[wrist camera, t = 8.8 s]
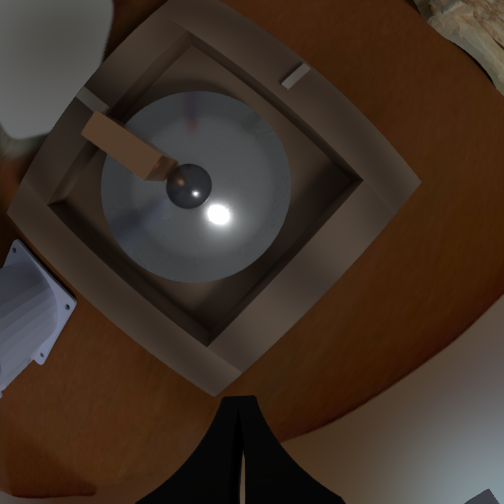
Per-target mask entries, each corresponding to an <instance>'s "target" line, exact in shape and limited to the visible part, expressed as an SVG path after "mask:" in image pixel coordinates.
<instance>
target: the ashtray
mask: <svg viewBox="0 0 504 504" xmlns="http://www.w3.org/2000/svg"><path fill="white" fill-rule="evenodd" d="M414 2H415V4H416V6H417V8H418V10H419V12H420V14H421V16H422V18H423V19H424V20H425V21H426V22H427V23H428V24H429V25H430V26H431V27H433V28H434V29H435V30H437V31H438V32H439V33H440V34H441V35H442V36H443V37H445V38H446V39H448V40H450V41H452V42H454V43H455V44H457V45H458V46H460V47H461V48H463V49H464V50H465V51H467V52H468V53H469V54H470V55H471V56H472V57H474V58H475V59H476V60H477V61H478V62H479V63H480V64H481V66H482V67H483V68H484V69H485V70H486V71H487V73H488V74H489V76H490V77H491V78H492V80H493V82H494V85H495V87H496V89H497V90H498V91H499V92H501V93H502V94H503V95H504V0H414Z"/></svg>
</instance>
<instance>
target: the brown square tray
mask: <svg viewBox="0 0 504 504" xmlns="http://www.w3.org/2000/svg"><path fill="white" fill-rule="evenodd" d="M190 91H206V92H214V93H219V94H222V95H226V96H229V97H232V98H234V99H236V100H239V101H241V102H243V103H244V104H246V105H248V106H249V107H251V108H252V109H253V110H255V111H256V112H257V113H258V114H260V115H261V116H262V117H263V118H264V119H265V120H266V121H267V122H268V123H269V125H270V126H271V127H272V129H273V130H274V131H275V133H276V134H277V136H278V138H279V140H280V141H281V143H282V145H283V147H284V150H285V153H286V156H287V159H288V163H289V168H290V175H291V195H290V202H289V207H288V211H287V214H286V217H285V220H284V223H283V225H282V227H281V229H280V231H279V233H278V235H277V236H276V238H275V239H274V241H273V242H272V244H271V245H270V246H269V247H268V248H267V250H266V251H265V252H264V253H263V254H262V255H261V256H260V257H259V258H258V259H256V260H255V261H254V262H253V263H252V264H250V265H249V266H247V267H246V268H244V269H243V270H241V271H239V272H237V273H235V274H233V275H231V276H228V277H225V278H222V279H219V280H214V281H209V282H200V283H189V282H179V281H174V280H170V279H166V278H163V277H160V276H158V275H156V274H154V273H152V272H150V271H148V270H146V269H145V268H143V267H142V266H140V265H139V264H137V263H136V262H135V261H134V260H133V259H131V258H130V257H129V256H128V255H127V254H126V252H125V251H124V250H123V249H122V248H121V247H120V245H119V244H118V242H117V241H116V239H115V238H114V236H113V234H112V232H111V230H110V228H109V226H108V223H107V221H106V218H105V215H104V210H103V206H102V198H101V179H102V172H103V167H104V163H105V160H106V156H107V153H106V152H105V151H103V150H102V149H100V148H99V147H98V146H96V145H95V144H94V143H92V142H91V141H90V140H88V139H87V138H85V137H84V136H83V135H81V132H82V130H83V129H84V127H85V126H86V124H87V123H88V121H89V119H90V118H91V116H92V115H93V113H94V112H95V110H98V111H100V112H102V113H104V114H106V115H108V116H110V117H112V118H114V119H116V120H118V121H120V122H122V123H123V124H124V125H125V124H126V123H127V122H128V121H129V120H130V119H131V118H132V117H133V116H134V115H135V114H137V113H138V112H139V111H140V110H142V109H143V108H144V107H146V106H148V105H149V104H151V103H153V102H155V101H157V100H159V99H162V98H164V97H166V96H170V95H173V94H177V93H183V92H190ZM420 183H421V181H420V180H419V178H418V177H417V176H416V175H415V173H414V172H413V171H412V169H411V168H410V167H409V166H408V164H407V163H406V162H405V161H404V160H403V158H402V157H401V156H400V155H399V154H398V152H397V151H396V150H395V149H394V148H393V147H392V145H391V144H390V143H389V142H388V141H387V140H386V139H385V137H384V136H383V135H382V134H381V133H380V132H379V131H378V130H377V129H376V127H375V126H374V125H373V124H372V123H371V122H370V121H369V120H368V119H367V118H366V117H365V116H364V115H363V114H362V113H361V112H360V111H359V110H358V109H357V108H356V107H355V106H354V105H353V104H352V103H351V102H350V101H349V100H348V99H347V98H346V97H345V96H344V95H343V94H342V93H341V92H340V91H339V90H338V89H337V88H336V87H334V86H333V85H332V84H331V83H330V82H329V81H328V80H327V79H326V78H325V77H323V76H322V75H321V74H320V73H319V72H318V71H316V70H315V69H314V68H313V67H312V66H311V65H309V64H308V63H307V62H306V61H305V60H303V59H302V58H301V57H300V56H298V55H297V54H296V53H295V52H293V51H292V50H291V49H290V48H288V47H287V46H286V45H284V44H283V43H282V42H280V41H279V40H278V39H276V38H275V37H274V36H272V35H271V34H270V33H268V32H267V31H265V30H264V29H263V28H261V27H260V26H258V25H257V24H255V23H254V22H252V21H251V20H249V19H248V18H246V17H245V16H243V15H242V14H240V13H239V12H237V11H235V10H234V9H232V8H231V7H229V6H227V5H226V4H224V3H222V2H221V1H219V0H168V1H167V2H166V3H165V4H163V5H162V6H161V7H160V8H159V9H157V10H156V11H155V12H154V13H153V14H152V15H151V16H149V17H148V18H147V19H146V20H145V21H144V22H143V23H142V24H141V25H140V26H138V27H137V28H136V29H135V30H134V31H133V32H132V33H131V34H130V35H129V36H128V37H127V38H126V39H125V40H124V41H123V42H122V43H121V44H120V45H119V46H118V47H117V48H116V49H115V50H114V51H113V52H112V54H111V55H110V56H109V57H108V58H107V59H106V60H105V61H104V62H103V63H102V65H101V66H100V67H99V68H98V69H97V70H96V72H95V73H94V74H93V75H92V76H91V77H90V79H89V80H88V81H87V82H86V84H85V85H84V86H83V87H82V88H81V89H80V91H79V92H78V93H77V95H76V96H75V98H74V99H73V100H72V102H71V103H70V104H69V106H68V107H67V108H66V110H65V111H64V113H63V114H62V115H61V117H60V118H59V120H58V121H57V123H56V124H55V126H54V127H53V129H52V130H51V132H50V133H49V135H48V136H47V138H46V140H45V141H44V143H43V144H42V146H41V148H40V149H39V151H38V153H37V154H36V156H35V158H34V160H33V161H32V163H31V165H30V167H29V169H28V170H27V172H26V174H25V176H24V178H23V180H22V182H21V184H20V186H19V188H18V190H17V192H16V194H15V196H14V198H13V200H12V202H11V204H10V206H9V209H8V211H7V214H8V215H9V217H10V218H11V219H12V220H13V222H14V223H15V224H16V225H17V226H18V228H19V229H20V230H21V231H22V232H23V233H24V235H25V236H26V237H27V238H28V239H29V240H30V242H31V243H32V244H33V245H34V246H35V247H36V248H37V249H38V251H39V252H40V253H41V254H42V255H43V256H44V257H45V258H46V259H47V260H48V261H49V262H50V263H51V264H52V266H53V267H54V268H55V269H56V270H57V271H58V272H59V273H60V274H61V275H62V276H63V277H64V278H65V279H66V280H67V281H68V282H69V283H70V284H71V285H72V286H73V287H74V288H75V289H76V290H78V291H79V292H80V293H81V294H82V295H83V296H84V297H85V298H86V299H87V300H88V301H89V302H90V303H91V304H93V305H94V306H95V307H96V308H97V309H98V310H99V311H100V312H101V313H103V314H104V315H105V316H106V317H107V318H108V319H109V320H111V321H112V322H113V323H114V324H115V325H116V326H118V327H119V328H120V329H121V330H122V331H124V332H125V333H126V334H127V335H129V336H130V337H131V338H132V339H133V340H135V341H136V342H137V343H138V344H140V345H141V346H142V347H144V348H145V349H146V350H147V351H149V352H150V353H151V354H153V355H154V356H155V357H157V358H158V359H159V360H161V361H162V362H163V363H165V364H166V365H167V366H169V367H170V368H172V369H173V370H174V371H176V372H177V373H179V374H180V375H182V376H183V377H184V378H186V379H187V380H189V381H190V382H192V383H193V384H195V385H196V386H198V387H199V388H201V389H202V390H204V391H205V392H207V393H208V394H210V395H212V396H213V397H215V396H216V395H218V394H219V393H220V392H221V391H222V390H223V389H225V388H226V387H227V386H228V385H229V384H230V383H232V382H233V381H234V380H235V379H236V378H237V377H238V376H239V375H241V374H242V373H243V372H244V371H245V370H246V369H247V368H248V367H250V366H251V365H252V364H253V363H254V362H255V361H256V360H257V359H258V358H259V357H260V356H262V355H263V354H264V353H265V352H266V351H267V350H268V349H269V348H270V347H271V346H272V345H273V344H274V343H275V342H276V341H278V340H279V339H280V338H281V337H282V336H283V335H284V334H285V333H286V332H287V331H288V330H289V329H290V328H291V327H292V326H293V325H294V324H295V323H296V322H297V321H298V320H299V319H300V318H301V317H302V316H303V315H304V314H305V313H306V312H307V311H308V310H309V309H310V308H311V307H312V306H313V305H314V304H315V303H316V302H317V301H318V300H319V299H320V298H321V297H322V296H323V295H324V294H325V293H326V292H327V291H328V290H329V288H330V287H331V286H332V285H333V284H334V283H335V282H336V281H337V280H338V279H339V278H340V277H341V276H342V275H343V274H344V272H345V271H346V270H347V269H348V268H349V267H350V266H351V265H352V264H353V263H354V262H355V260H356V259H357V258H358V257H359V256H360V255H361V254H362V253H363V252H364V250H365V249H366V248H367V247H368V246H369V245H370V244H371V242H372V241H373V240H374V239H375V238H376V237H377V236H378V234H379V233H380V232H381V231H382V230H383V229H384V227H385V226H386V225H387V224H388V223H389V221H390V220H391V219H392V218H393V217H394V216H395V214H396V213H397V212H398V211H399V209H400V208H401V207H402V206H403V205H404V203H405V202H406V201H407V200H408V198H409V197H410V196H411V195H412V193H413V192H414V191H415V190H416V188H417V187H418V186H419V185H420Z"/></svg>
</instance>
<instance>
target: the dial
mask: <svg viewBox="0 0 504 504" xmlns="http://www.w3.org/2000/svg"><path fill="white" fill-rule="evenodd" d="M81 135H83V136H84V137H85V138H87V139H88V140H90V141H91V142H92V143H94V144H95V145H96V146H98V147H99V148H100V149H102V150H103V151H105V152H106V153H107V156H106V160H105V163H104V167H103V172H102V179H101V198H102V206H103V210H104V215H105V218H106V221H107V223H108V226H109V228H110V230H111V232H112V234H113V236H114V238H115V239H116V241H117V242H118V244H119V245H120V247H121V248H122V249H123V250H124V251H125V252H126V254H127V255H128V256H129V257H130V258H131V259H133V260H134V261H135V262H136V263H137V264H139V265H140V266H142V267H143V268H145V269H146V270H148V271H150V272H152V273H154V274H156V275H158V276H160V277H163V278H166V279H170V280H174V281H179V282H189V283H200V282H209V281H214V280H219V279H222V278H225V277H228V276H231V275H233V274H235V273H237V272H239V271H241V270H243V269H244V268H246V267H247V266H249V265H250V264H252V263H253V262H254V261H255V260H256V259H258V258H259V257H260V256H261V255H262V254H263V253H264V252H265V251H266V250H267V248H268V247H269V246H270V245H271V244H272V242H273V241H274V239H275V238H276V236H277V235H278V233H279V231H280V229H281V227H282V225H283V223H284V220H285V217H286V214H287V211H288V207H289V202H290V195H291V175H290V168H289V163H288V159H287V156H286V153H285V150H284V147H283V145H282V143H281V141H280V140H279V138H278V136H277V134H276V133H275V131H274V130H273V129H272V127H271V126H270V125H269V123H268V122H267V121H266V120H265V119H264V118H263V117H262V116H261V115H260V114H258V113H257V112H256V111H255V110H253V109H252V108H251V107H249V106H248V105H246V104H244V103H243V102H241V101H239V100H236V99H234V98H232V97H229V96H226V95H222V94H219V93H214V92H206V91H190V92H183V93H177V94H173V95H170V96H166V97H164V98H162V99H159V100H157V101H155V102H153V103H151V104H149V105H148V106H146V107H144V108H143V109H142V110H140V111H139V112H138V113H137V114H135V115H134V116H133V117H132V118H131V119H130V120H129V121H128V122H127V123H126V124H125V125H124V124H123V123H122V122H120V121H118V120H116V119H114V118H112V117H110V116H108V115H106V114H104V113H102V112H100V111H98V110H95V112H94V113H93V115H92V116H91V118H90V119H89V121H88V123H87V124H86V126H85V127H84V129H83V130H82V132H81Z"/></svg>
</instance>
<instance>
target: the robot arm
mask: <svg viewBox="0 0 504 504" xmlns="http://www.w3.org/2000/svg"><path fill="white" fill-rule="evenodd" d="M15 248H16V251H15ZM67 304H68V305H69V306H70V308H68V306H67ZM76 304H77V302H76V299H75V298H74V297H73V296H72V295H71V294H70V293H69V292H68V291H67V290H66V289H65V288H64V287H63V286H62V285H61V284H60V283H59V282H58V281H57V280H56V279H55V278H54V277H53V276H52V275H51V274H50V273H49V272H48V271H47V270H46V269H45V267H44V266H43V265H42V264H41V263H40V262H39V261H38V260H37V259H36V258H35V257H34V255H33V254H32V253H31V252H30V251H29V250H28V249H27V248H26V246H25V245H24V244H23V243H22V242H21V241H20V240H19V239H17V240H14V241H13V244H12V246H11V248H10V251H9V253H8V256H7V258H6V261H5V264H4V266H3V268H1V269H0V398H1V397H2V393H1V391H2V390H3V389H5V388H6V387H7V386H8V385H9V384H10V383H11V382H12V381H13V380H14V378H15V377H16V376H17V375H18V374H19V373H20V372H21V371H22V370H23V369H24V368H25V367H26V366H27V365H28V364H29V363H30V362H31V361H32V360H33V359H34V360H35V361H36V362H37V363H39V364H40V365H42V364H43V363H44V362H45V360H46V358H47V357H48V355H49V353H50V351H51V349H52V347H53V345H54V343H55V341H56V340H57V338H58V336H59V334H60V332H61V331H62V329H63V327H64V325H65V324H66V322H67V320H68V318H69V317H70V315H71V313H72V312H73V310H74V308H75V306H76ZM42 353H43V354H42ZM243 450H244V457H245V504H346V503H345V502H344V501H343V499H342V498H341V497H340V496H338V495H336V494H335V493H333V492H332V491H330V490H329V489H327V488H326V487H324V486H323V485H321V484H320V483H319V482H317V481H316V480H315V479H314V478H312V477H311V476H310V475H309V474H308V473H307V472H306V471H304V470H303V469H302V468H301V467H300V466H299V465H298V464H297V463H296V462H295V461H294V460H293V459H292V458H291V457H290V455H289V454H288V453H287V452H286V451H285V450H284V448H283V447H282V446H281V444H280V443H279V442H278V440H277V439H276V437H275V436H274V434H273V433H272V431H271V430H270V428H269V426H268V424H267V423H266V421H265V419H264V417H263V415H262V413H261V411H260V408H259V405H258V402H257V398H256V397H255V396H254V395H251V396H230V397H223V398H222V400H221V403H220V406H219V409H218V411H217V413H216V415H215V418H214V420H213V422H212V423H211V425H210V427H209V429H208V431H207V433H206V434H205V436H204V437H203V439H202V440H201V442H200V443H199V445H198V446H197V448H196V449H195V451H194V452H193V453H192V454H191V456H190V457H189V458H188V459H187V461H186V462H185V463H184V464H183V465H182V466H181V467H180V468H179V469H178V470H177V471H176V472H175V473H174V474H173V475H172V476H171V477H170V478H169V479H168V480H166V481H165V482H164V483H163V484H162V485H160V486H159V487H158V488H157V489H155V490H154V491H153V492H151V493H149V494H148V495H146V496H145V497H143V498H142V499H140V500H139V501H137V502H136V503H135V504H240V483H241V469H242V457H243ZM465 504H499V503H498V501H497V500H496V498H495V497H494V495H493V494H492V492H491V491H490V489H487V490H485V491H483V492H482V493H481V494H479V495H477V496H475V497H474V498H472V499H470V500H469V501H467V502H466V503H465Z"/></svg>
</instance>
